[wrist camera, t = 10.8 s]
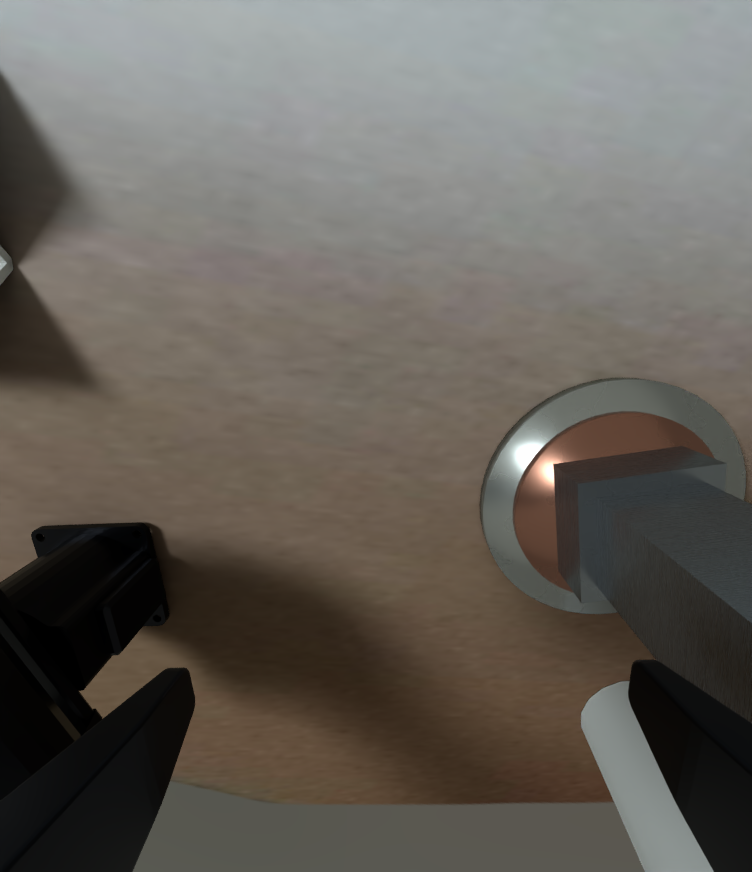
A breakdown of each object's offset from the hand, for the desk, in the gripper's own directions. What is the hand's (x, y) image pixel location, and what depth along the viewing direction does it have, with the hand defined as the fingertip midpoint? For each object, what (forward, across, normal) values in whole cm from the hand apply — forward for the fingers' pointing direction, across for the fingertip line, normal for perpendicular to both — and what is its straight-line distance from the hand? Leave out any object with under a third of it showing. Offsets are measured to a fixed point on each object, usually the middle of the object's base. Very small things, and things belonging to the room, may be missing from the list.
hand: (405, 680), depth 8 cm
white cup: (+13, -14, +17) cm, 26 cm away
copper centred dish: (+13, -11, +2) cm, 17 cm away
